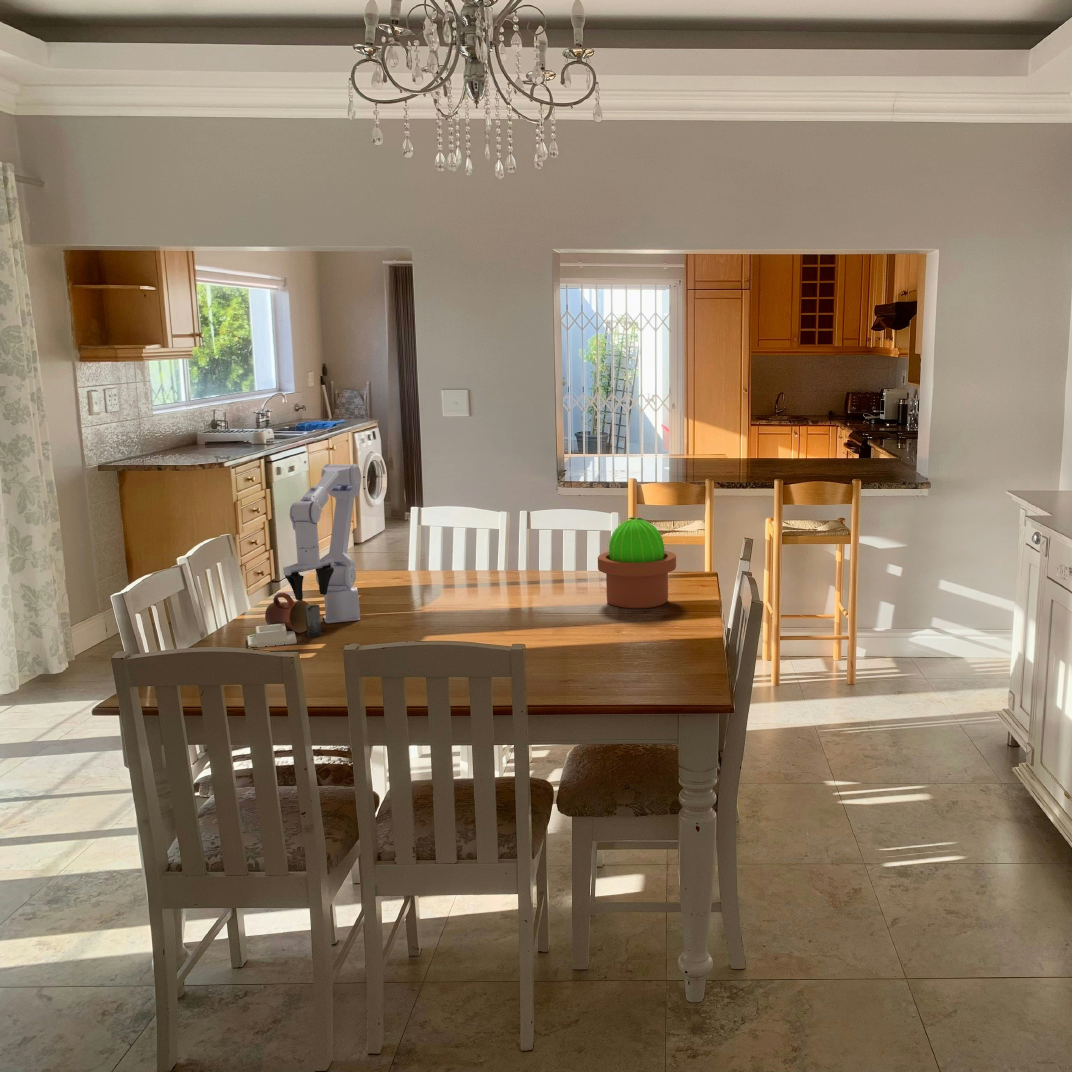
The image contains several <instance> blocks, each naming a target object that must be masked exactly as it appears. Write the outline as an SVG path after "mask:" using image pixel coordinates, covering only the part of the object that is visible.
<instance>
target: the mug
mask: <svg viewBox="0 0 1072 1072" xmlns="http://www.w3.org/2000/svg"><path fill="white" fill-rule="evenodd" d="M279 598H283V599H285V601H280V600H279ZM306 605H309V603H308V602H307V601H305V600H304V599H303V600H301V601H299V600H294V599H293V598H292V597H291V595H290V594H288V593H287V592H278V593H277V594H275V595H274V597H273V600H272V603H270V604H269V605H267V608H266V610H265V614H264V617H265V622H266V624H267V625H274V624H283V623H285V627H286V630H289V631H294V633H298V634H299V633H304V632H307V629H306V616H305V606H306Z"/></svg>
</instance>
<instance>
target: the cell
mask: <svg viewBox="0 0 1072 1072" xmlns="http://www.w3.org/2000/svg"><path fill="white" fill-rule="evenodd" d="M308 604H309V605H306V606H305V616H306V629H307V630H306V637H308V638H317V637H321V636H322V623H321V622H322V621H321V610H320V604H316V603H315V602H309V603H308Z"/></svg>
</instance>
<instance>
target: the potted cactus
mask: <svg viewBox="0 0 1072 1072" xmlns="http://www.w3.org/2000/svg"><path fill="white" fill-rule="evenodd" d="M650 522H651V521H649V522H648V521H647V520H645V518H641V517H633V516H631V517H629V518H628V520H625V521H624V522H621V523H620V524H619V526H618V525H617V527H616V528H615V529H614V530H613V532H612V534H611V535H610V539H609V542H608V545H607V547H608V551H606V552H602V553H601V554H599V555H598V556H597V570H598V571H599V572H600V573H603V574H605V576H606V577H605V578H606V583H605V584H606V601H607V603H608V604H610V605H611V606H615V607H617V608H623V609H648V608H649V609H650V608H651V609H652V608H655V607H659V606H663V605H664V604H666V603H667V602H668V600H669V573H671V572H673V571H675V570H676V569H677V554H676V553H674V552H671V551H667V550H666V549H665V544H664V540H663V539H664V536H663V535H662V534H661V529H660V530H659V529H657V527H656V526H655V525H653V524H652V522H651V523H650ZM662 536H663V537H662Z"/></svg>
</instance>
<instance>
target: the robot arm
mask: <svg viewBox="0 0 1072 1072" xmlns="http://www.w3.org/2000/svg"><path fill="white" fill-rule="evenodd" d="M320 476H321V479H320V480H319V482H318V483H317V485H311V486H310V487H309V489H308V491H306V493H304V495H303V496H302V498H300V500H299V501H298V500H296V501H294V502H293V503H291V506H290V509H289V519H290V521H291V524H292V528H293V531H295V534H294V535H295V544H296V556H297V559H296V560H297V562H296V563H295V564H291V565H288V566H284V567H283V568H282V569H283V575H284V577H285V579H286V580H287V582H288V583H289V585H290V587H291V589H292V592H293V595H294V598H295V601H298V600H299V601H301V600H303V601H304V596H303V595H304V593H303V583H304V578H305V576H304V575H301V574H300V573H303V572H307V571H308V572H309V571H312V570H315V580H316V583H317V585H318V590H319V593H320V595H323V596H324V598H323V599H324V600H323V601H324V611H325V612H324V613H325V615H323V620H324V622H325V624H336V623H343V622H354V621H360V620H361V616H360V615H361V614H360V612H361V609H360V600H359V598H360V597H359V592H358V587H357V586H354V585H355V583H356V580H357V579H356V578H357V577H356V576H357V573H356V563H355V561H354V560H353V559H352V558H351V557H350V556H349V555H348V549H349V541H350V533H351V527H352V525H351V524H352V517H353V511H354V503H355V498H356V497H358V496H359V495H360V490H361V484H362V473H361V469H360V467H359V465H358V464H357V463H352V464H350V463H348V464H329V463H327V464H325V465H324V466H323V467H322V468H321V475H320ZM329 496H330V497H333V498H335V505H334V506H335V507H334V512H333V521H332V529H331V536H330V542H329V543H330V544H329V551H328V553H327V554H325V555H324V556H322V557H321V558H320V545H319V544H320V543H319V532H318V531H319V529H318V523H319V522H320V519H321V514H322V513H323V510H322V509H323V508H324V507H325V505H326V504H327V503H328V501H329Z"/></svg>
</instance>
